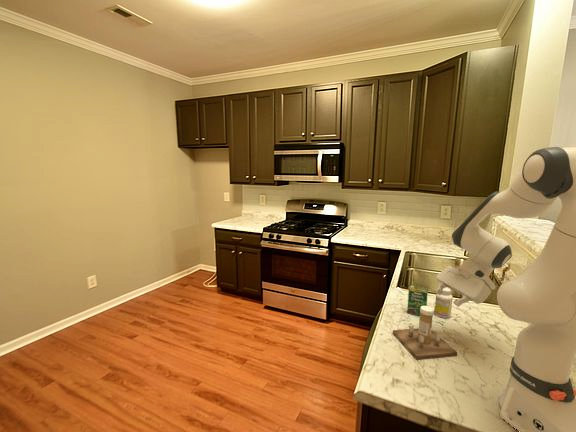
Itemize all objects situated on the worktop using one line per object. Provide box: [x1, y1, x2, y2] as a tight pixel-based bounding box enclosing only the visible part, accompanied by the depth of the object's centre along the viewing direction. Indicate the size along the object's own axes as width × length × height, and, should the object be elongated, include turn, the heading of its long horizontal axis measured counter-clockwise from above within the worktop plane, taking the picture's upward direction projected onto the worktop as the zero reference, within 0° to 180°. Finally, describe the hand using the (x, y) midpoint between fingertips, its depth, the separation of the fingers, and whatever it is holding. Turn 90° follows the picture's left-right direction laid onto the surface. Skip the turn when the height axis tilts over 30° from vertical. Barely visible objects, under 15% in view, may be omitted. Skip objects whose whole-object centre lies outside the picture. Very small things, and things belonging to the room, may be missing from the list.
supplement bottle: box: [434, 287, 454, 319], centre depth 128 cm, size 7×7×13 cm
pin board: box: [392, 325, 458, 361], centre depth 107 cm, size 16×16×6 cm
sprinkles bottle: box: [418, 305, 435, 344], centre depth 106 cm, size 5×5×13 cm
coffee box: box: [406, 285, 429, 317], centre depth 128 cm, size 8×3×13 cm, turn 57°
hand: (446, 298), depth 105 cm, fingers open, 8 cm apart
